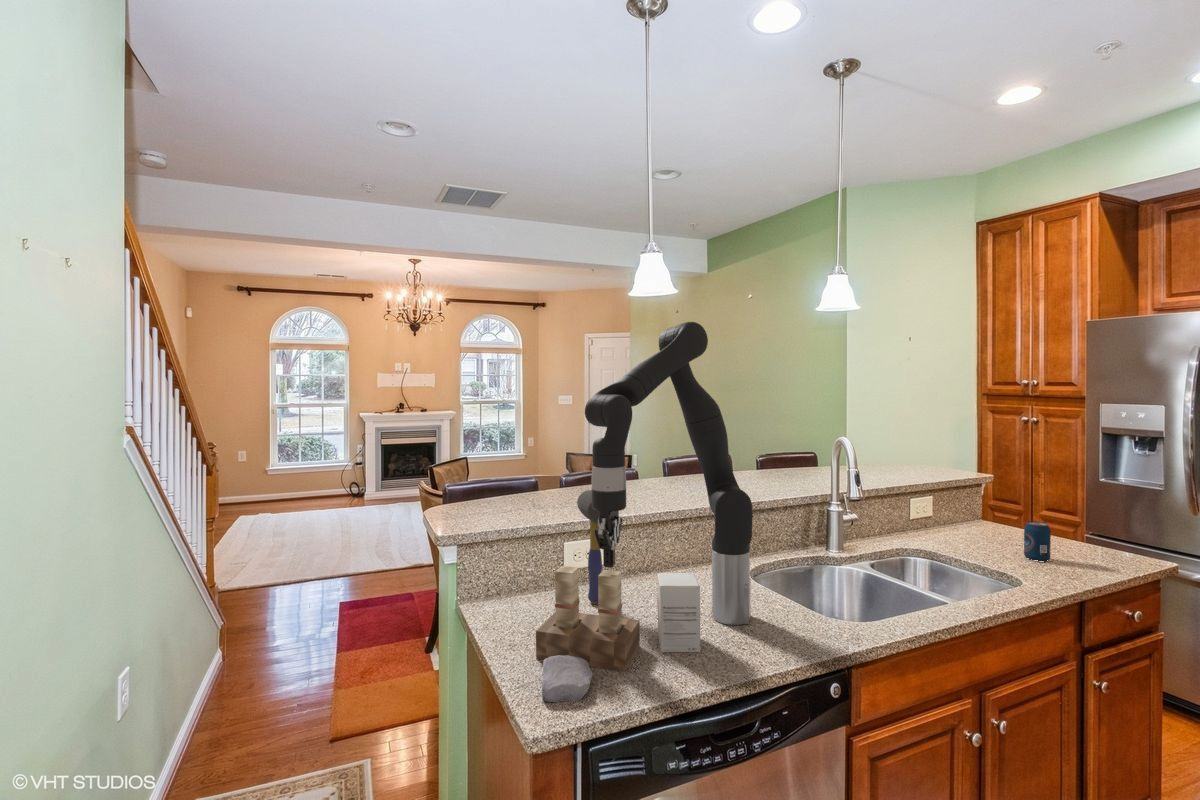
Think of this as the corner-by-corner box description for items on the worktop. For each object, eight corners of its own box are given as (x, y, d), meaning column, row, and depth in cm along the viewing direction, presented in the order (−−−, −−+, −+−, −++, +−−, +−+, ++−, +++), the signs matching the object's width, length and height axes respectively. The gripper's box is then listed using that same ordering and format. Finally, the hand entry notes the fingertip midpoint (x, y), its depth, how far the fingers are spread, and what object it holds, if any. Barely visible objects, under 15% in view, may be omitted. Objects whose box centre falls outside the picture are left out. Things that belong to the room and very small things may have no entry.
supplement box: (657, 635, 136) (656, 571, 136) (695, 635, 136) (695, 571, 136) (659, 653, 127) (659, 585, 127) (700, 653, 127) (700, 585, 126)
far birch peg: (579, 624, 130) (579, 567, 130) (573, 632, 127) (572, 573, 126) (562, 622, 132) (561, 565, 131) (555, 629, 128) (554, 571, 127)
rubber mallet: (615, 609, 152) (614, 495, 151) (588, 612, 150) (586, 497, 149) (602, 593, 164) (600, 487, 163) (576, 596, 162) (575, 489, 161)
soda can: (1019, 556, 194) (1019, 520, 194) (1042, 556, 193) (1042, 521, 193) (1031, 562, 187) (1032, 525, 187) (1055, 563, 186) (1055, 526, 186)
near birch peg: (622, 630, 127) (621, 571, 127) (616, 638, 123) (616, 577, 123) (604, 627, 129) (603, 569, 128) (598, 635, 125) (597, 575, 124)
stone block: (587, 679, 120) (539, 672, 119) (591, 656, 120) (544, 649, 119) (591, 713, 108) (538, 706, 107) (596, 688, 108) (543, 681, 107)
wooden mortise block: (639, 646, 130) (639, 620, 130) (625, 671, 119) (625, 643, 119) (557, 635, 137) (557, 610, 136) (536, 658, 125) (535, 630, 125)
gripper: (616, 493, 118) (617, 577, 118) (633, 482, 130) (634, 558, 131) (582, 491, 120) (582, 574, 121) (601, 481, 133) (602, 556, 133)
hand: (609, 566), depth 126 cm, fingers closed
